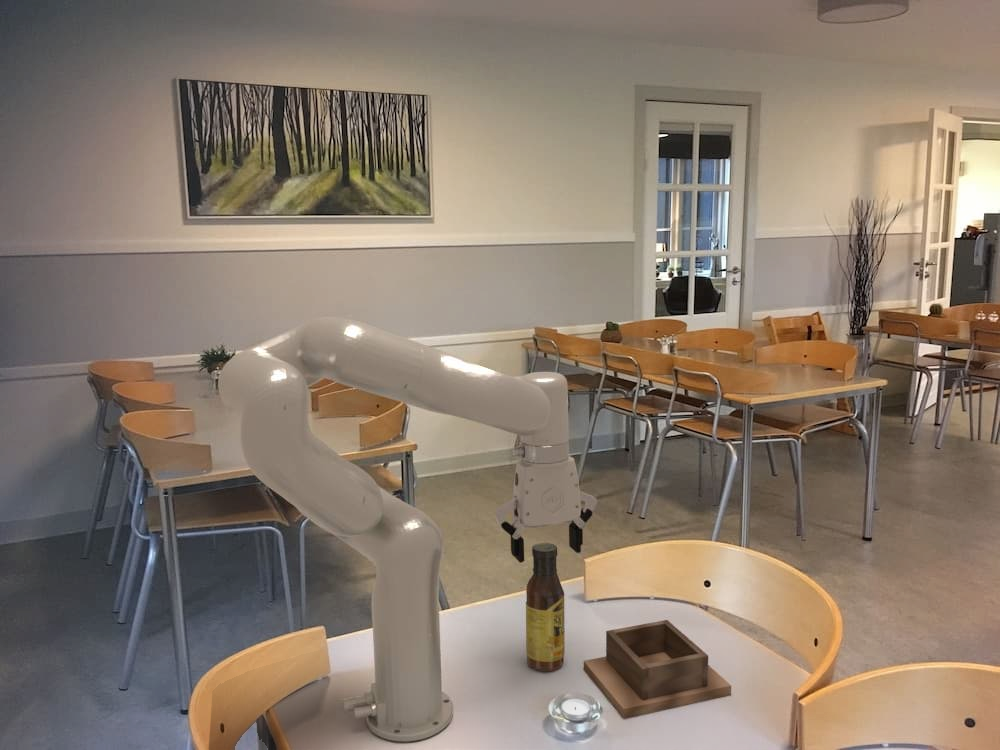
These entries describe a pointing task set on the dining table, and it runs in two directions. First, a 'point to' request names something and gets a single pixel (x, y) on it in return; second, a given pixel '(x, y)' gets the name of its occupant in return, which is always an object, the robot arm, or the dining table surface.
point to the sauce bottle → (544, 611)
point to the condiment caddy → (653, 670)
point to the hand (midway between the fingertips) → (547, 554)
